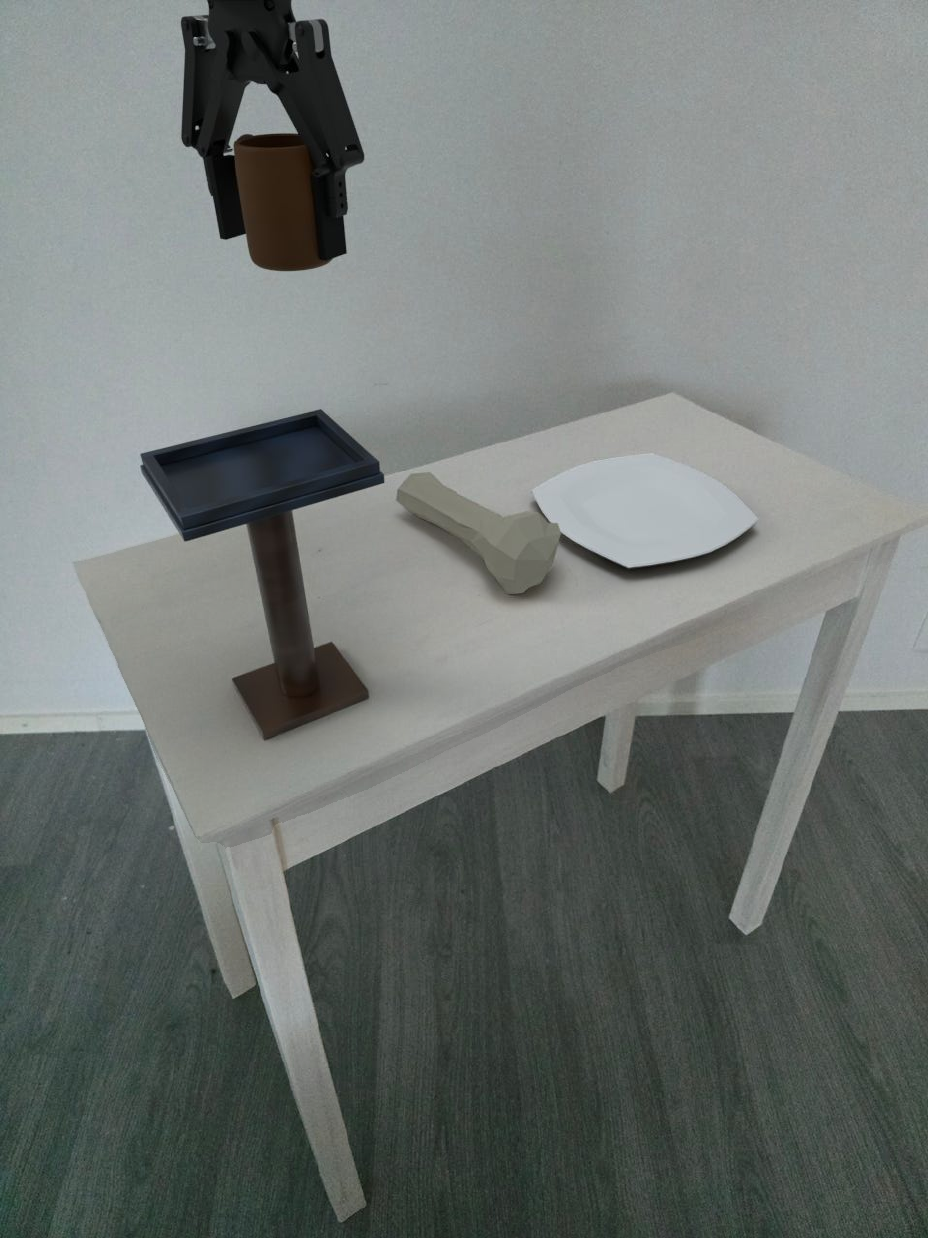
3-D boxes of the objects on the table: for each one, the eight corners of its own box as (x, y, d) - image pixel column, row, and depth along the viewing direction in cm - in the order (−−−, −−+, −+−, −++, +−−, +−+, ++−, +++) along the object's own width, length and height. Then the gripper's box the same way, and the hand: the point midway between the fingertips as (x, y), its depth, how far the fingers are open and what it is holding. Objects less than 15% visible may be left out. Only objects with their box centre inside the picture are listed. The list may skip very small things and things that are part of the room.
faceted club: (507, 612, 83) (369, 520, 100) (565, 599, 89) (425, 514, 105) (525, 530, 80) (379, 448, 96) (585, 522, 85) (437, 446, 101)
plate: (505, 500, 102) (505, 486, 101) (652, 455, 111) (655, 441, 110) (622, 598, 87) (624, 583, 85) (783, 536, 96) (787, 522, 94)
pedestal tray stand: (242, 763, 69) (178, 519, 55) (201, 686, 77) (136, 452, 62) (401, 697, 75) (383, 461, 61) (349, 631, 83) (322, 406, 68)
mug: (215, 247, 78) (194, 131, 72) (288, 234, 81) (274, 123, 75) (274, 278, 70) (256, 152, 64) (352, 262, 74) (342, 141, 68)
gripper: (398, -71, 58) (412, 256, 72) (171, -65, 69) (221, 219, 83) (326, -72, 54) (356, 278, 67) (94, -66, 64) (160, 235, 78)
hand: (281, 246), depth 75 cm, fingers closed on mug, 12 cm apart
